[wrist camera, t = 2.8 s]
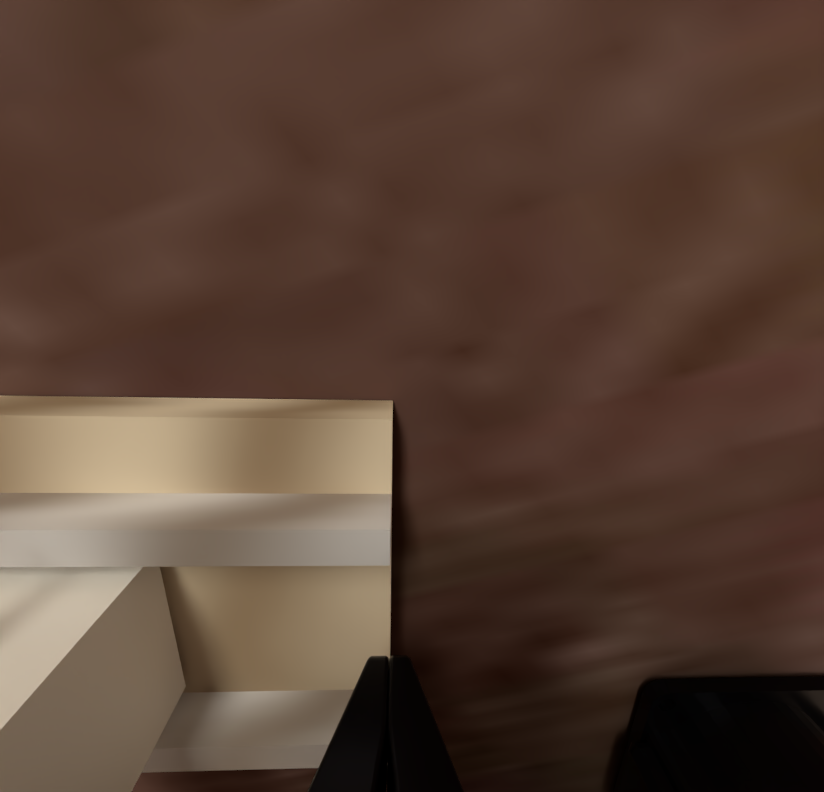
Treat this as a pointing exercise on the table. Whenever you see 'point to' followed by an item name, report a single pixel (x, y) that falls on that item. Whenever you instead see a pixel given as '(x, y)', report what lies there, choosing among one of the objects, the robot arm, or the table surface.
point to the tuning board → (222, 549)
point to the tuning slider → (83, 676)
